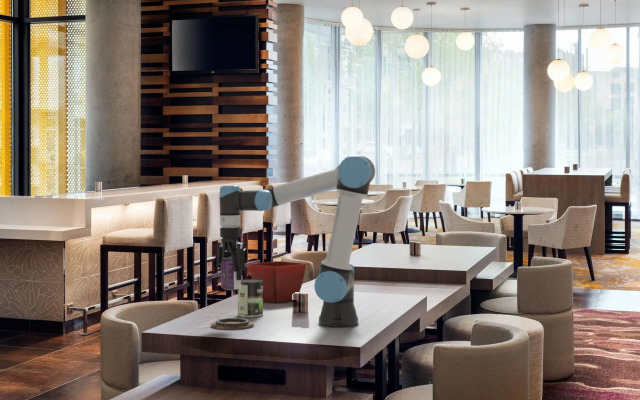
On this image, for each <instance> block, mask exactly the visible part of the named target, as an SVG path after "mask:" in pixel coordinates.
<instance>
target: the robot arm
mask: <svg viewBox="0 0 640 400" xmlns="http://www.w3.org/2000/svg"><path fill="white" fill-rule="evenodd" d="M336 165H337V164H336ZM375 175H376V168H375V165H374V163H373V161H371V159H369V158H368V157H366V156H363V155H360V154H359V155H358V154H352V155H348V156H347V157H344V159H343V160H342V161H341V162H340V163H339V164H338V165H337V166H336V167H335V168H334V169H330V170H326V171H322V172H319V173H316V174H313V175H309V176H306V177H302V178H299V179H295V180H292V181H289V182H285V183H282V184H280V185H279V184H278V185H275V186H271V187H268V188H265V189H258V190H254V189H253V190H241V188H240V185H221V186H220V187H219V197H218V199H219V200H218V201H219V202H218V203H219V226H220V228H219V237H220V238H221V241H217V242H216V247H217V253H216V255H217V256H216V268H218V269H219V270H220V271H221V262H222V260H223V259H222V258H223V257H225V258H227V257H230V255H231V257H232V258H233V263H234V267H235V270H234V289H237V290H238V289H241V280H242V271H245V270H246V261H245V260H246V259H245V250H244V248H245V243H244V242H240V241H239V238H240V237H241V228H240V226H241V211H242V212H244V211H245V212H246V211H248V212H249V211H251V212H252V211H257V212H264V211H271V209H272V208H275V207H279V206H281V205H285V204H288V203H292V202H295V201H299V200H303V199H305V198H309V197H313V196H316V195H320V194H324V193H327V192H331V191H335V190H336V191H337V193H338V199H337V203H336V209H335V213H334V214H335V215H334V219H333V224H332V227H331V233H330V238H329V243H328V247H327V251H326V257H325V259H323V260H322V261H320V264H319V265H320V266H319V270H318V275H317V276H316V278H315V279H314V284H313V285H314V291H315V294H316V296H317V297H318V298H319V299H320V300H321V301H323V302H322V307H321V311H320V315H319V317H318V324H319V325H320V326H324V327H332V328H333V327H335V328H343V327H345V328H348V327H353V326H357V325H359V316H358V314H357V310H356V307H355V302H354V301H355V300H354V299H355V294H354V291H355V269H354V268H355V267H354V265H353V264H351V263H350V261H351V255H352V251H353V246H354V242H355V237H356V232H357V226H358V222H359V217H360V213H361V207H362V202H363V200H364V199H365V198H366V197H367V196H368V194H369V190H370V185H371V182H372V181H373V180H374V179H375ZM220 280H221V279H220ZM221 288H222V280H221Z"/></svg>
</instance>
